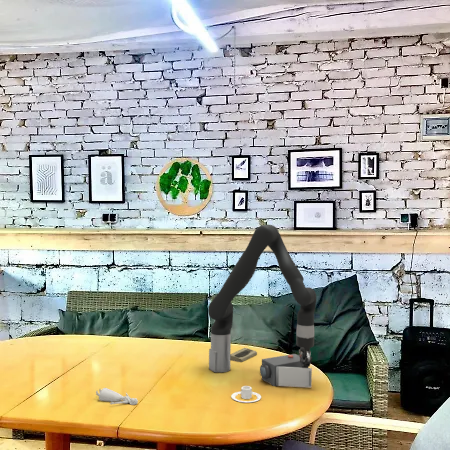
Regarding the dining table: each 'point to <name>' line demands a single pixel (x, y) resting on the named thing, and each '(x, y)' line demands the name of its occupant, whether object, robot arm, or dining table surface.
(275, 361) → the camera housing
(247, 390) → the candle holder
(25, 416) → the dining table surface
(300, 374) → the side door
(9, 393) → the dining table surface
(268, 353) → the dining table surface
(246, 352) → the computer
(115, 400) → the woman figurine
